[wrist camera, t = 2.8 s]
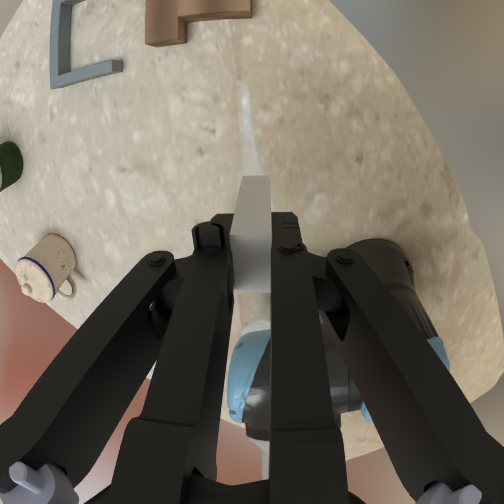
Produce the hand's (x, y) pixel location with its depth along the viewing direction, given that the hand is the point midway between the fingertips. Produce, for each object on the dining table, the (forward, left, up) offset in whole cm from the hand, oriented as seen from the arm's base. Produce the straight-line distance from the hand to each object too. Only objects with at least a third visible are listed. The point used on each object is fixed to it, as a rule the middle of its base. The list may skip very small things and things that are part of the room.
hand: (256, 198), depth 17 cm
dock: (+24, -18, -22) cm, 37 cm away
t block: (+7, -18, -22) cm, 29 cm away
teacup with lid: (+36, +20, -22) cm, 47 cm away
